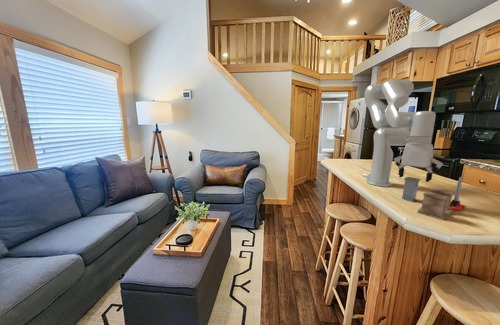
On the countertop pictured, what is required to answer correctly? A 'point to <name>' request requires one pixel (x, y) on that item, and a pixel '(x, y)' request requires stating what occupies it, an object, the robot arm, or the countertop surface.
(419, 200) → the countertop surface
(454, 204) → the tow hook
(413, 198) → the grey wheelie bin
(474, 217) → the countertop surface
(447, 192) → the ribbed brown block
